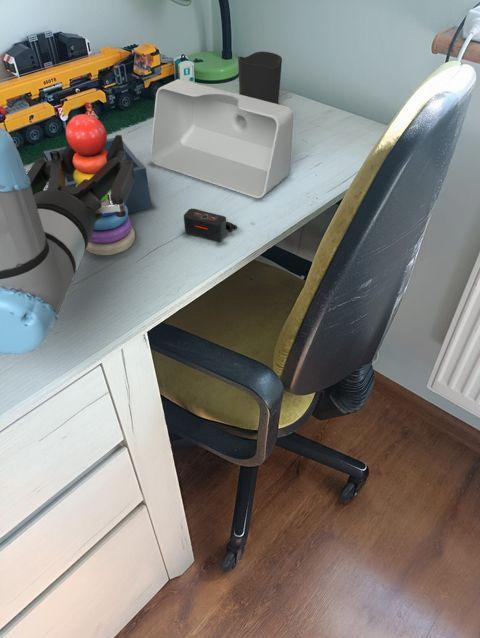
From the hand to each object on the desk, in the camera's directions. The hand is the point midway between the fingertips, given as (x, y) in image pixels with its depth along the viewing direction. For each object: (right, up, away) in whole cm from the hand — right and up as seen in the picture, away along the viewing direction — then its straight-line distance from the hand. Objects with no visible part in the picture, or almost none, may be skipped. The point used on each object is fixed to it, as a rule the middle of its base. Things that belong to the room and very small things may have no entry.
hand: (99, 144), depth 73 cm
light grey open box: (+17, +6, +25) cm, 30 cm away
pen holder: (+22, +26, +45) cm, 57 cm away
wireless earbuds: (+15, -11, +8) cm, 20 cm away
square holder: (-4, -4, +15) cm, 16 cm away
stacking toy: (0, -13, +6) cm, 14 cm away
